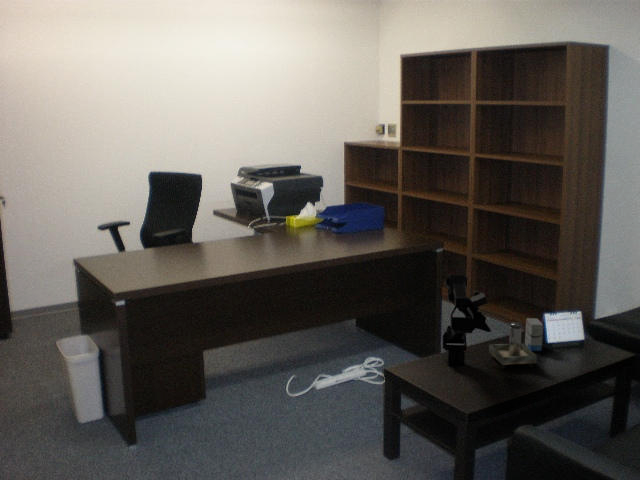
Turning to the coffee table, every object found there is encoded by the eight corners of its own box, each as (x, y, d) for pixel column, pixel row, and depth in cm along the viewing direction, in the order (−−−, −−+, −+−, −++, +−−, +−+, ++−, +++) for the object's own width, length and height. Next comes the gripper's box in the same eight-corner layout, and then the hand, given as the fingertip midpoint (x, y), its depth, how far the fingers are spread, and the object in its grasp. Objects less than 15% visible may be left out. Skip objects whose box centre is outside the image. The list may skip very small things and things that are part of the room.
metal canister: (515, 357, 259) (516, 326, 257) (506, 354, 263) (507, 323, 260) (523, 355, 262) (524, 324, 259) (514, 351, 266) (515, 321, 263)
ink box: (542, 351, 274) (543, 324, 271) (530, 351, 274) (531, 324, 272) (535, 343, 282) (537, 317, 280) (524, 343, 282) (525, 317, 280)
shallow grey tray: (501, 370, 256) (502, 357, 254) (488, 356, 269) (489, 344, 268) (535, 368, 257) (536, 356, 256) (521, 354, 271) (522, 343, 269)
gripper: (481, 295, 250) (508, 322, 253) (470, 280, 268) (495, 305, 271) (460, 315, 252) (487, 341, 255) (450, 298, 270) (475, 323, 273)
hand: (487, 326), depth 264 cm, fingers open, 9 cm apart
